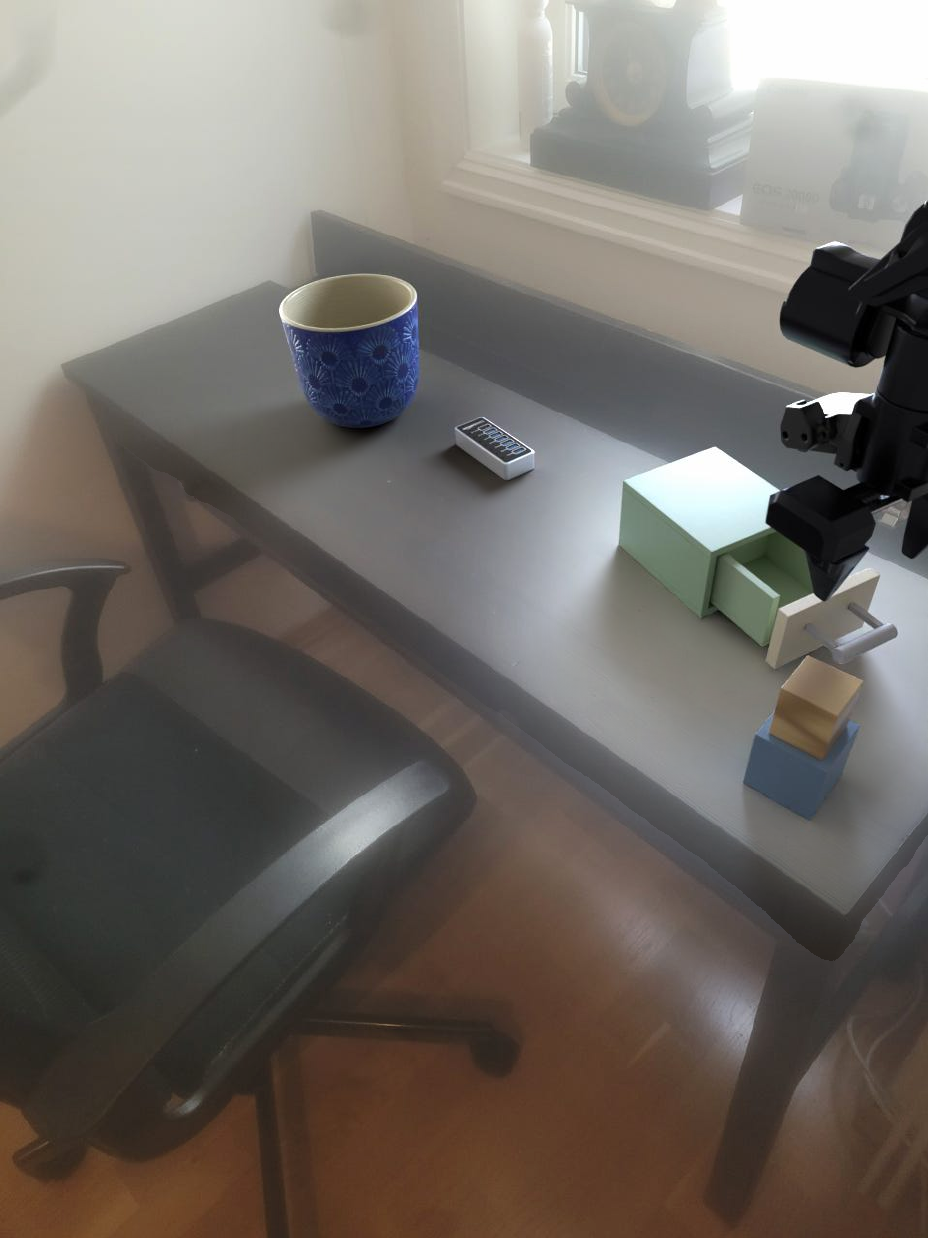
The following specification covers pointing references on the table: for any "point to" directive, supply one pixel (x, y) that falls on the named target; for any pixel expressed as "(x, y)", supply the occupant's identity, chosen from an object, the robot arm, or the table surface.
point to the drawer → (794, 602)
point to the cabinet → (692, 520)
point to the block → (815, 707)
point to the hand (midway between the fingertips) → (865, 576)
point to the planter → (355, 346)
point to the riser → (796, 769)
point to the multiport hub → (494, 448)
